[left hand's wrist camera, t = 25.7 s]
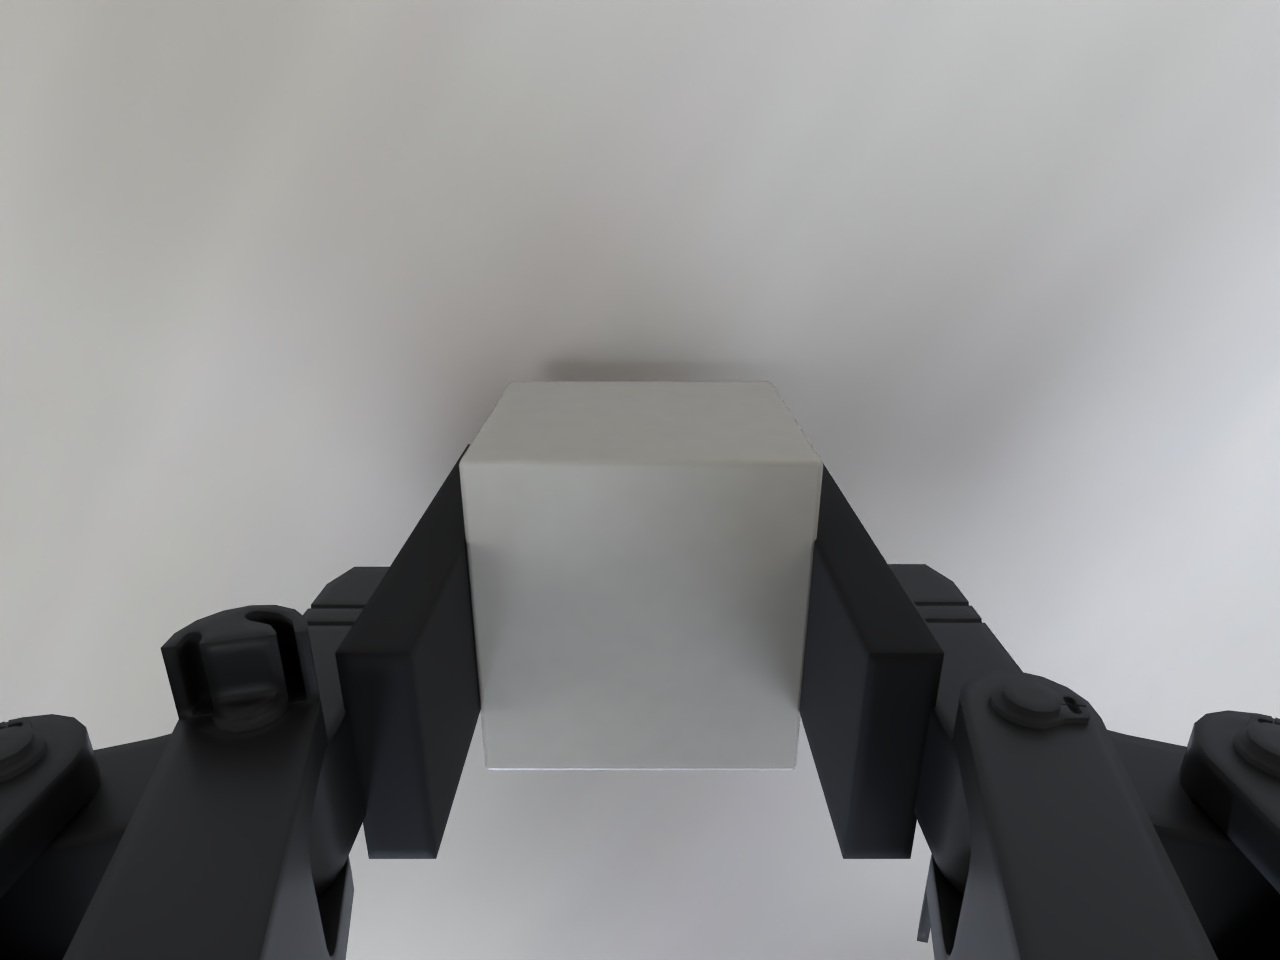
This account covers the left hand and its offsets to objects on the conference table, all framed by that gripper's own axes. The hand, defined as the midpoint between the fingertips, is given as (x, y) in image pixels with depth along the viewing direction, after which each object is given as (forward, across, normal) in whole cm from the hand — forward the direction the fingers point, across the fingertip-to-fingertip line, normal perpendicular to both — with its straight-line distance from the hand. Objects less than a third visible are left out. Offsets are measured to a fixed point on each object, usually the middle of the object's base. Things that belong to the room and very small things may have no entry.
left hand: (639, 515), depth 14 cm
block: (0, 0, 0) cm, 0 cm away
